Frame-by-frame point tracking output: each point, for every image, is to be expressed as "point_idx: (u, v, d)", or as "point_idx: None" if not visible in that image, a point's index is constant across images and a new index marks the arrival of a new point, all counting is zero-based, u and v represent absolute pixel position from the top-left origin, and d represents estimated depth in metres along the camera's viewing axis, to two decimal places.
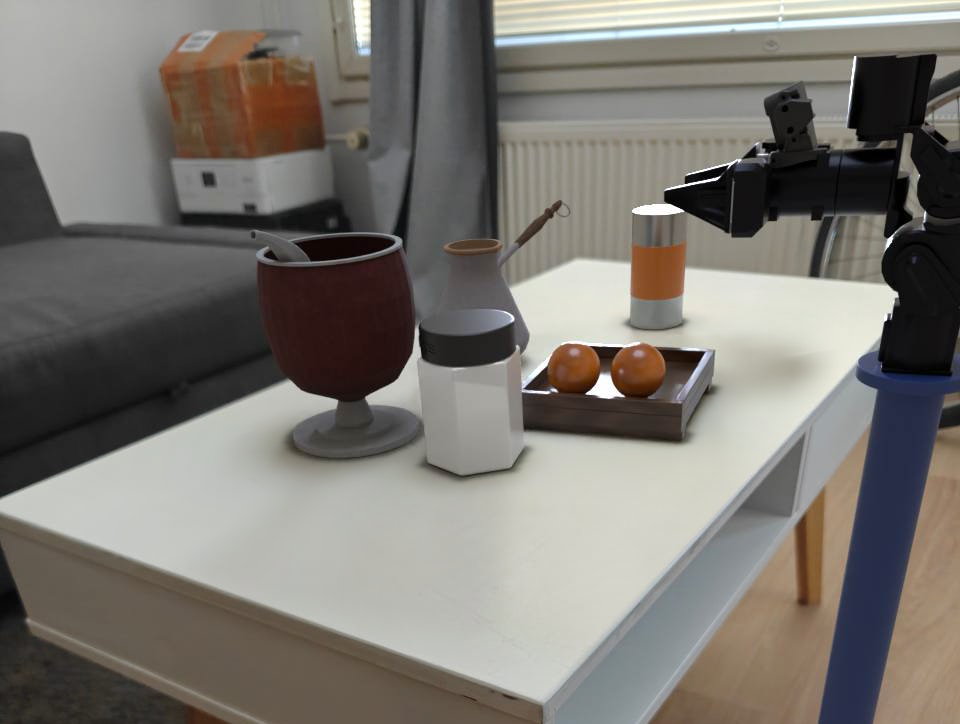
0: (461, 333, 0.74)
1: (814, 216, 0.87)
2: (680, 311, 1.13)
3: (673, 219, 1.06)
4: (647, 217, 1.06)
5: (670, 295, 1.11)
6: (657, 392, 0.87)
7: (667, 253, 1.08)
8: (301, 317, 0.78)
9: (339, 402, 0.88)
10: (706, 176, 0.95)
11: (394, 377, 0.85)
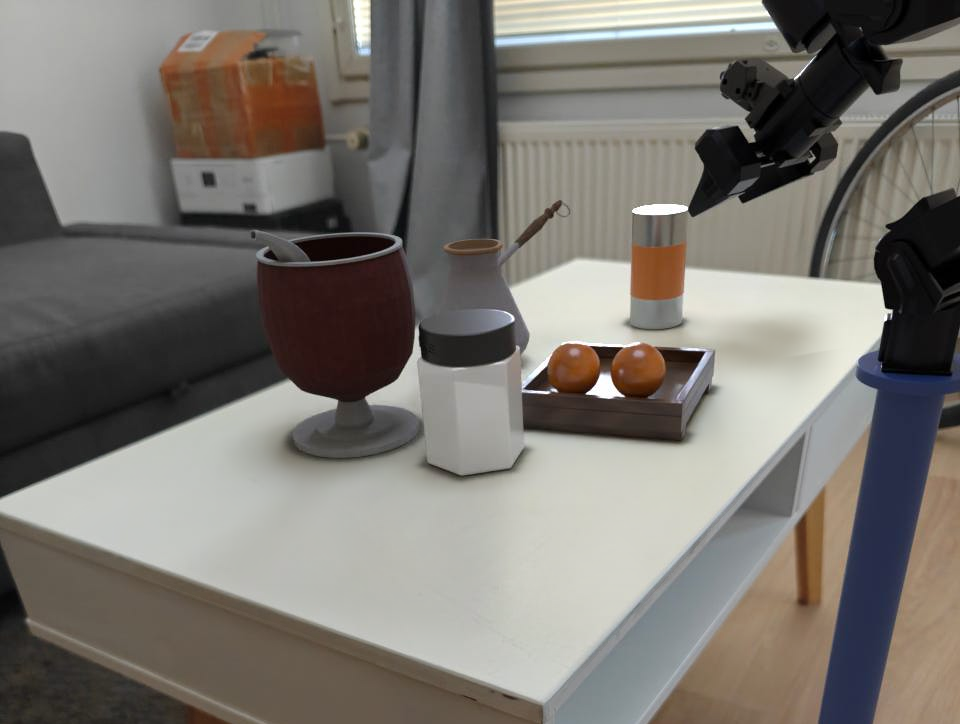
0: (461, 333, 0.74)
1: (808, 131, 0.89)
2: (680, 311, 1.13)
3: (673, 219, 1.06)
4: (647, 217, 1.06)
5: (670, 295, 1.11)
6: (657, 392, 0.87)
7: (667, 253, 1.08)
8: (301, 317, 0.78)
9: (339, 402, 0.88)
10: None
11: (394, 377, 0.85)
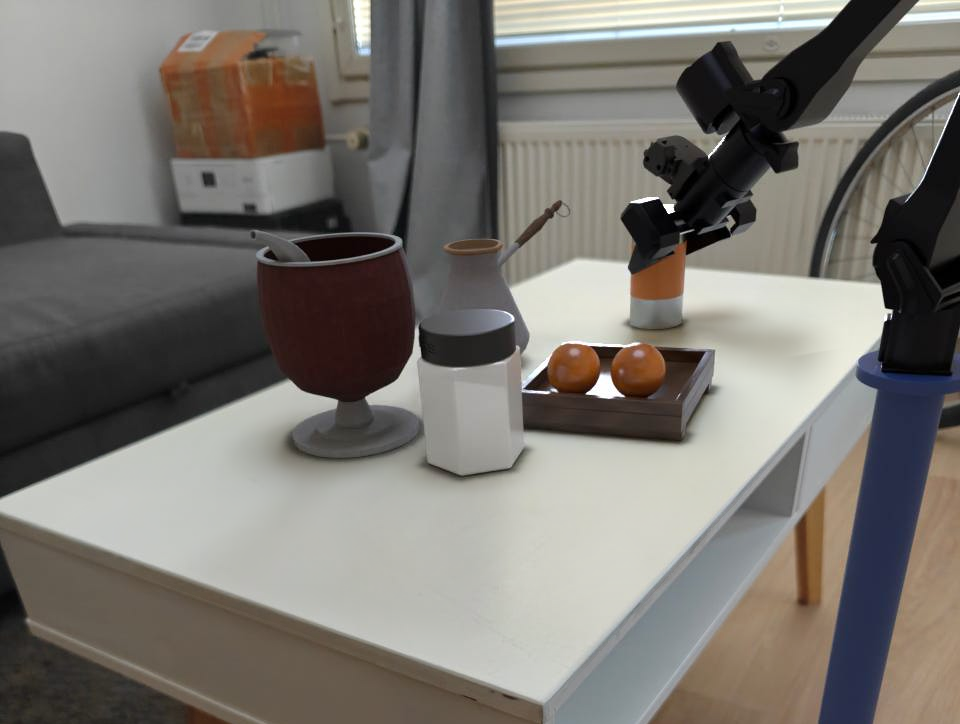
0: (461, 333, 0.74)
1: (721, 203, 0.99)
2: (680, 311, 1.13)
3: None
4: None
5: (670, 295, 1.11)
6: (657, 392, 0.87)
7: None
8: (301, 317, 0.78)
9: (339, 402, 0.88)
10: None
11: (394, 377, 0.85)
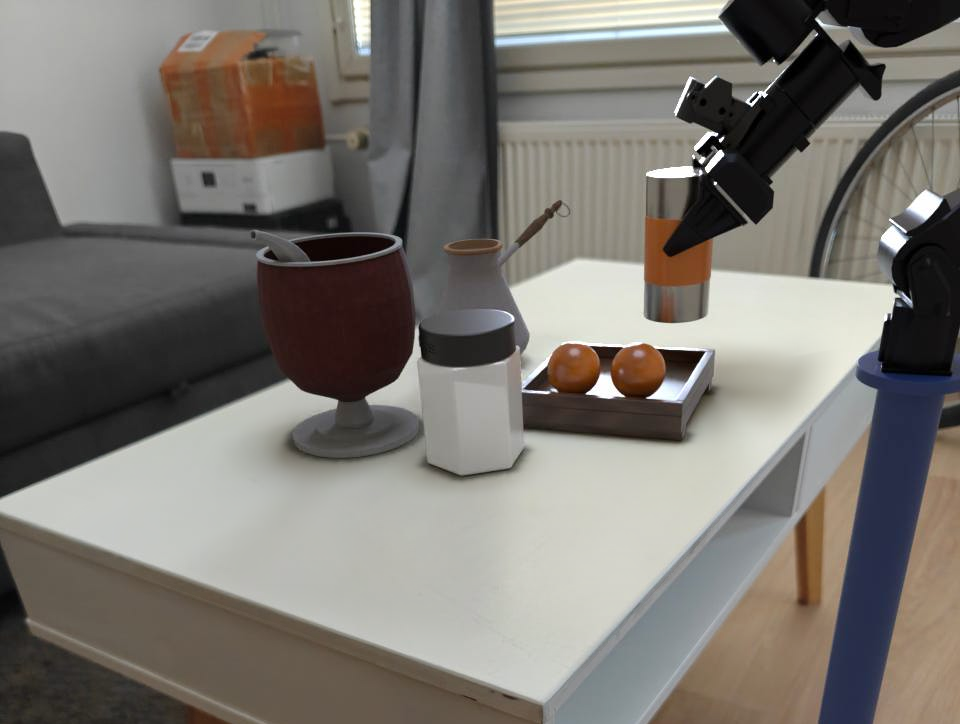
0: (461, 333, 0.74)
1: (801, 146, 0.82)
2: None
3: None
4: (691, 180, 0.84)
5: (709, 275, 0.90)
6: (657, 392, 0.87)
7: None
8: (301, 317, 0.78)
9: (339, 402, 0.88)
10: None
11: (394, 377, 0.85)
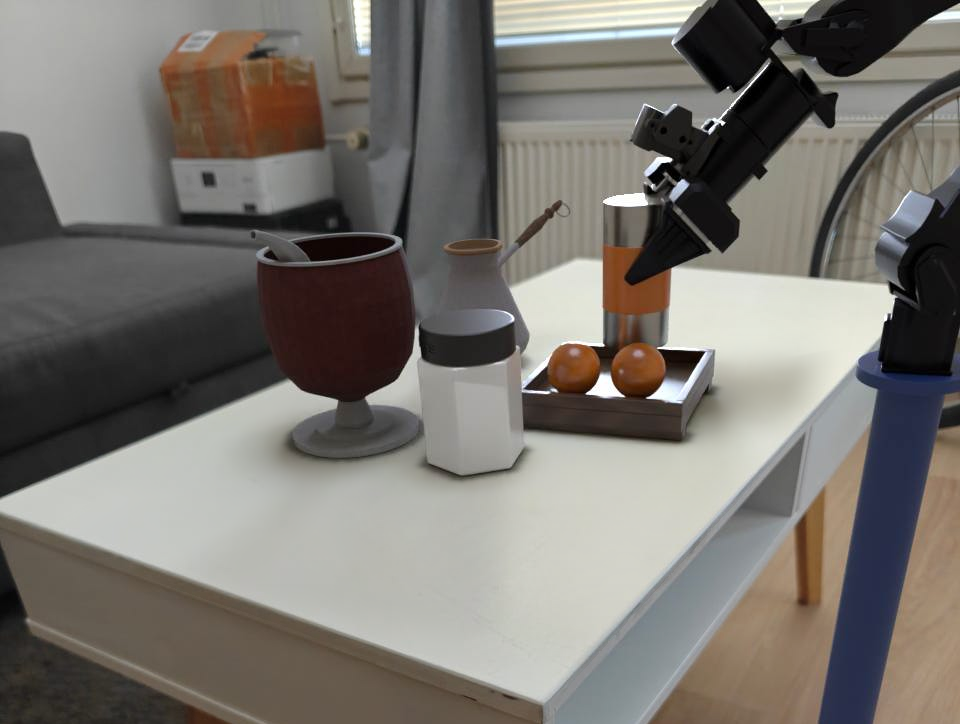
0: (461, 333, 0.74)
1: (759, 174, 0.81)
2: None
3: (672, 207, 0.84)
4: (651, 208, 0.82)
5: (669, 302, 0.89)
6: (657, 392, 0.87)
7: None
8: (301, 317, 0.78)
9: (339, 402, 0.88)
10: None
11: (394, 377, 0.85)
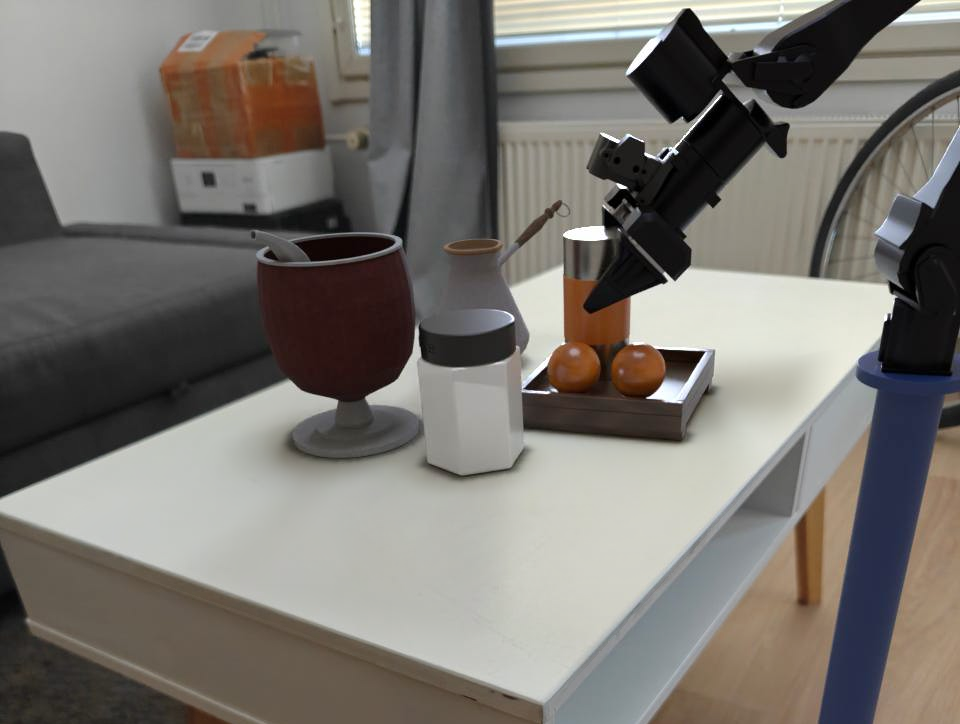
0: (461, 333, 0.74)
1: (713, 202, 0.83)
2: None
3: (630, 240, 0.85)
4: (609, 242, 0.84)
5: (628, 332, 0.90)
6: (657, 392, 0.87)
7: None
8: (301, 317, 0.78)
9: (339, 402, 0.88)
10: None
11: (394, 377, 0.85)
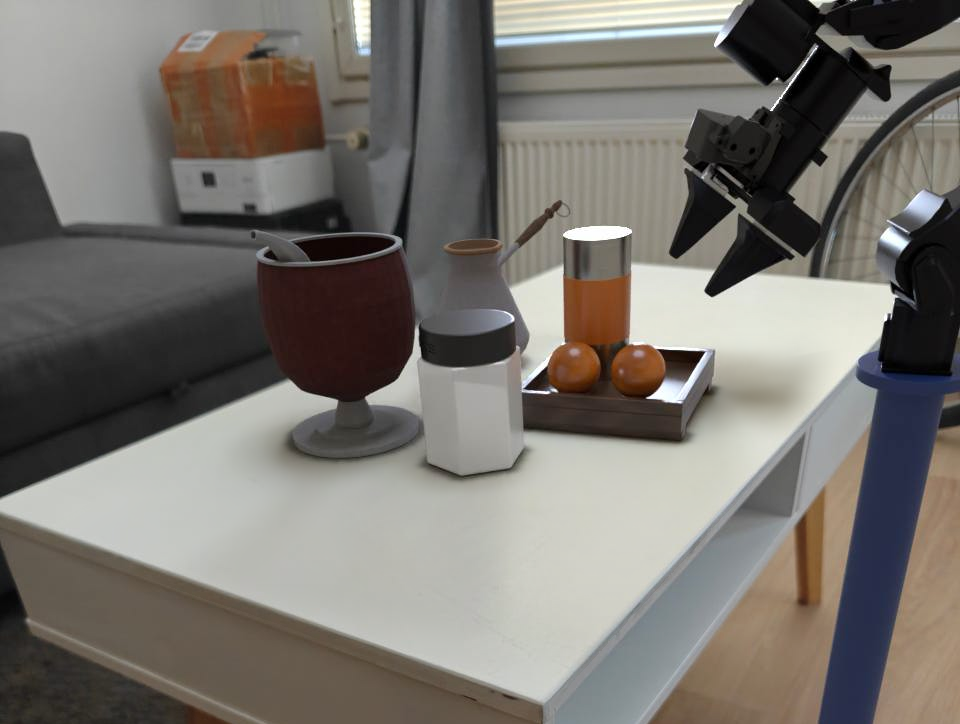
0: (461, 333, 0.74)
1: (820, 161, 0.82)
2: None
3: (630, 240, 0.85)
4: (609, 242, 0.84)
5: (628, 332, 0.90)
6: (657, 392, 0.87)
7: (628, 283, 0.87)
8: (301, 317, 0.78)
9: (339, 402, 0.88)
10: (684, 235, 0.91)
11: (394, 377, 0.85)
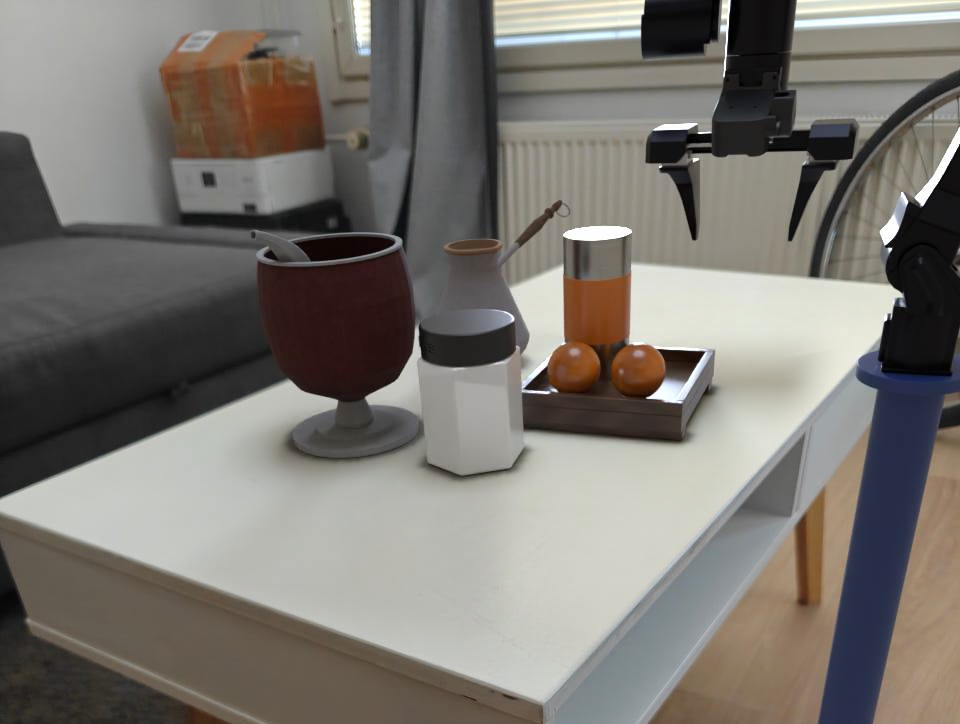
0: (461, 333, 0.74)
1: None
2: None
3: (630, 240, 0.85)
4: (609, 242, 0.84)
5: (628, 332, 0.90)
6: (657, 392, 0.87)
7: (628, 283, 0.87)
8: (301, 317, 0.78)
9: (339, 402, 0.88)
10: (696, 216, 0.91)
11: (394, 377, 0.85)
